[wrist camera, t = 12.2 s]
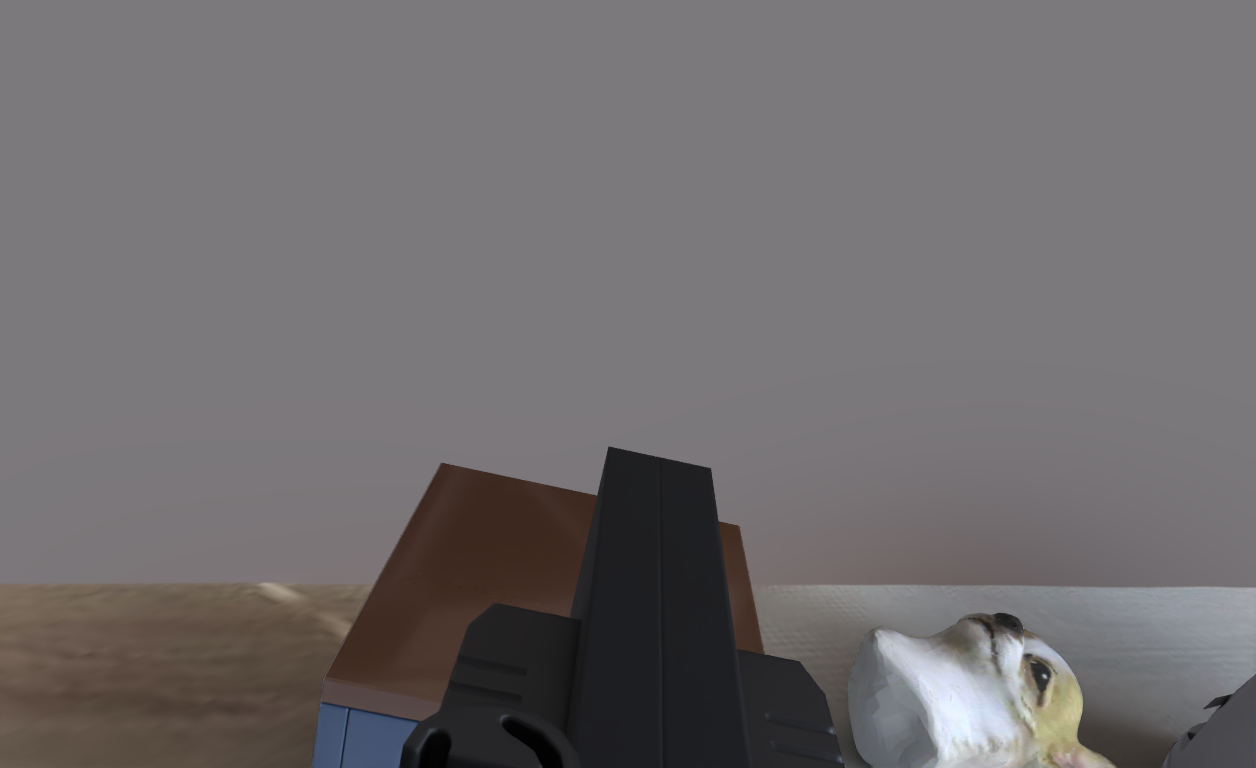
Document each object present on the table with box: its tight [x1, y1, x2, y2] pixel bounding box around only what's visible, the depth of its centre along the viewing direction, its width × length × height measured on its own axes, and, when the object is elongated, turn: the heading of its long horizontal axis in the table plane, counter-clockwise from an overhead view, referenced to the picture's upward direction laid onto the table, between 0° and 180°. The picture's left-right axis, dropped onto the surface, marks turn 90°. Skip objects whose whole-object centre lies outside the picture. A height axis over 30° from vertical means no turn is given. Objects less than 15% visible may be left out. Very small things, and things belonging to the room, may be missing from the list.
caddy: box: [311, 702, 421, 768], centre depth 33 cm, size 14×13×11 cm
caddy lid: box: [320, 463, 765, 721], centre depth 32 cm, size 14×13×1 cm
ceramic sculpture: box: [848, 613, 1117, 768], centre depth 45 cm, size 11×9×15 cm
